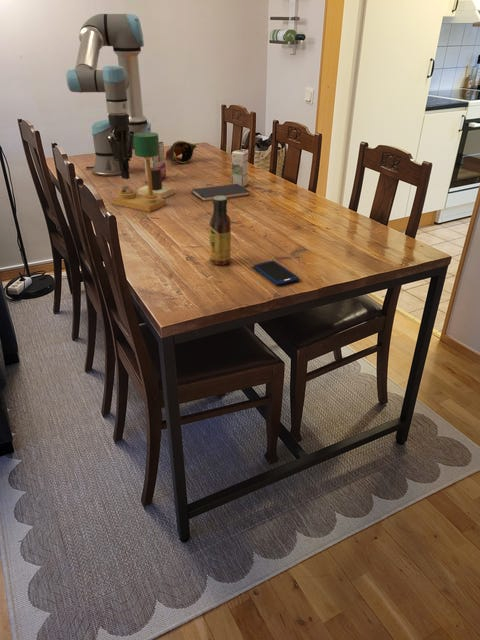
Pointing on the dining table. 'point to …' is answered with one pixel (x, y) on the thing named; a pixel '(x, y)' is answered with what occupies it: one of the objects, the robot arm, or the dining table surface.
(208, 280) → the dining table surface
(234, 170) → the syrup box
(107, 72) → the robot arm
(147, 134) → the lamp
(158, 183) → the dark brown cylinder
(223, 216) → the sauce bottle
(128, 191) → the lamp switch
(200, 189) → the notebook
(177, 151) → the pot
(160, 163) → the candy bar box
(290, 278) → the cell phone
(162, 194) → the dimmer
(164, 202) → the lamp base
